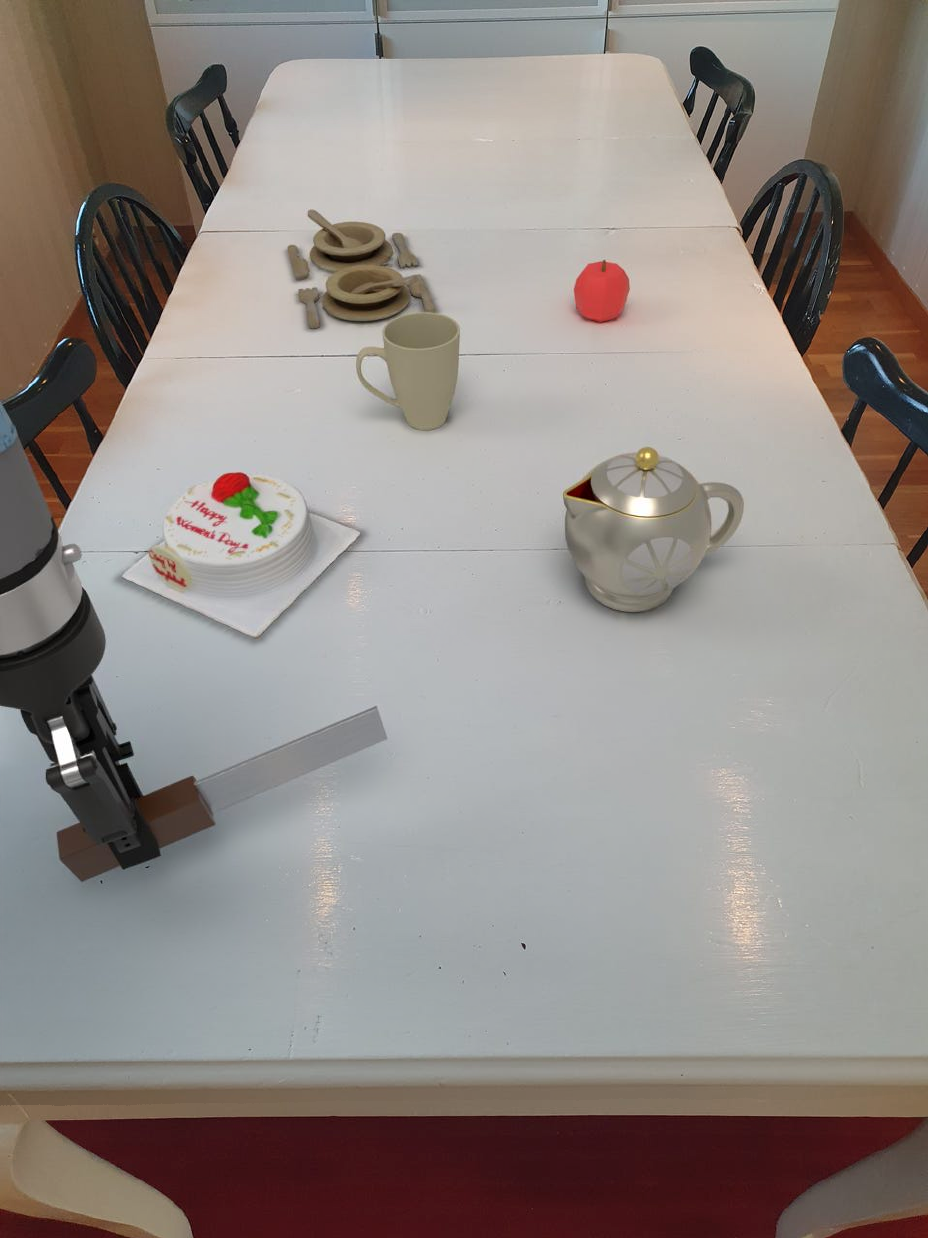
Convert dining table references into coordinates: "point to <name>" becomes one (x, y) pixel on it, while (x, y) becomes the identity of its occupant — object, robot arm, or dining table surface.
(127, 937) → the dining table surface
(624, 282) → the apple
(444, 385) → the mug
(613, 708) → the dining table surface
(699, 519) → the teapot
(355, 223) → the tableware set
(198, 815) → the knife
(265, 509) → the cake
